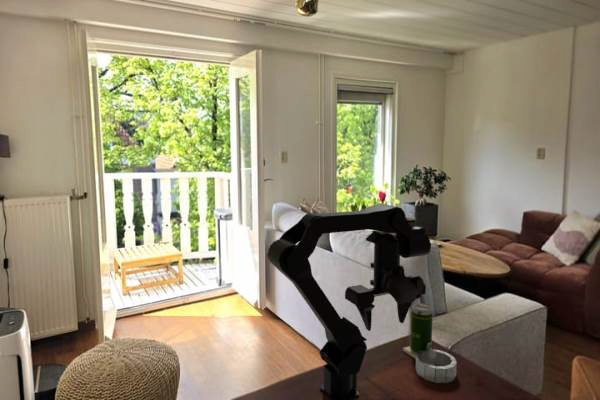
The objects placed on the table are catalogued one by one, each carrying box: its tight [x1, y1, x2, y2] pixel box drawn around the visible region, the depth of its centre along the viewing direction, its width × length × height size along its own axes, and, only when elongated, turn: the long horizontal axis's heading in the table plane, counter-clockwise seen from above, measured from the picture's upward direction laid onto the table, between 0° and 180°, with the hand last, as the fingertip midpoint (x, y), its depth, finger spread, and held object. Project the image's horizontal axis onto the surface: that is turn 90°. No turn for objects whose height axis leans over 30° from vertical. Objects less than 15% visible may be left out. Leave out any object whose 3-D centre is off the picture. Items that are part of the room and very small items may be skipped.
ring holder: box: [415, 348, 458, 384], centre depth 100 cm, size 9×9×4 cm
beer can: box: [409, 303, 434, 354], centre depth 108 cm, size 5×5×12 cm
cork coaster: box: [402, 345, 417, 360], centre depth 109 cm, size 6×6×1 cm
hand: (385, 326), depth 96 cm, fingers open, 9 cm apart
